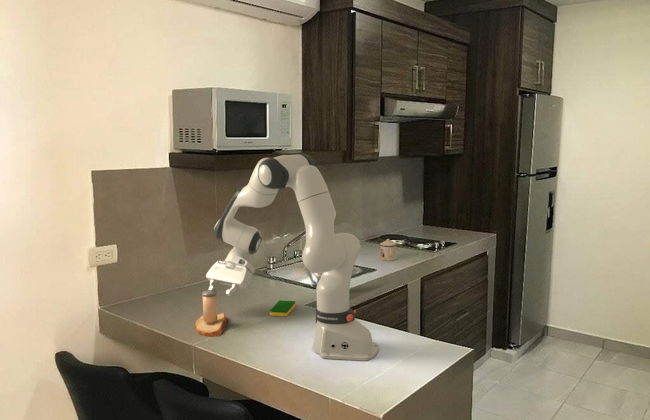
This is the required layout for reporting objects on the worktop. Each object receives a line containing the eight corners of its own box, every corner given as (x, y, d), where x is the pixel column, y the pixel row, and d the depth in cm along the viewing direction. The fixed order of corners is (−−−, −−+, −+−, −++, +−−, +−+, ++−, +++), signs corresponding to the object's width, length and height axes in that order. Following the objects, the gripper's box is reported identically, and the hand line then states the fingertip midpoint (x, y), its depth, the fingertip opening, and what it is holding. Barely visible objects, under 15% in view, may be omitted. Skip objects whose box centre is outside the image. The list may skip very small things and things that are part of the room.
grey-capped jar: (220, 318, 213) (219, 290, 212) (213, 323, 208) (212, 294, 207) (207, 317, 215) (206, 289, 213) (200, 321, 210) (199, 293, 208)
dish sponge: (295, 306, 236) (295, 300, 235) (286, 317, 222) (286, 311, 222) (279, 305, 237) (279, 300, 237) (269, 316, 224) (269, 310, 223)
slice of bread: (212, 340, 200) (212, 330, 199) (179, 330, 210) (178, 320, 210) (246, 325, 214) (246, 316, 214) (214, 316, 225) (213, 307, 224)
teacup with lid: (378, 257, 319) (378, 237, 317) (394, 257, 320) (394, 237, 318) (382, 262, 307) (382, 242, 305) (398, 262, 308) (399, 241, 306)
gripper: (212, 255, 225) (195, 285, 219) (250, 262, 214) (233, 293, 207) (221, 264, 230) (204, 293, 223) (258, 271, 218) (242, 301, 212)
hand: (219, 293), depth 215 cm, fingers open, 8 cm apart
